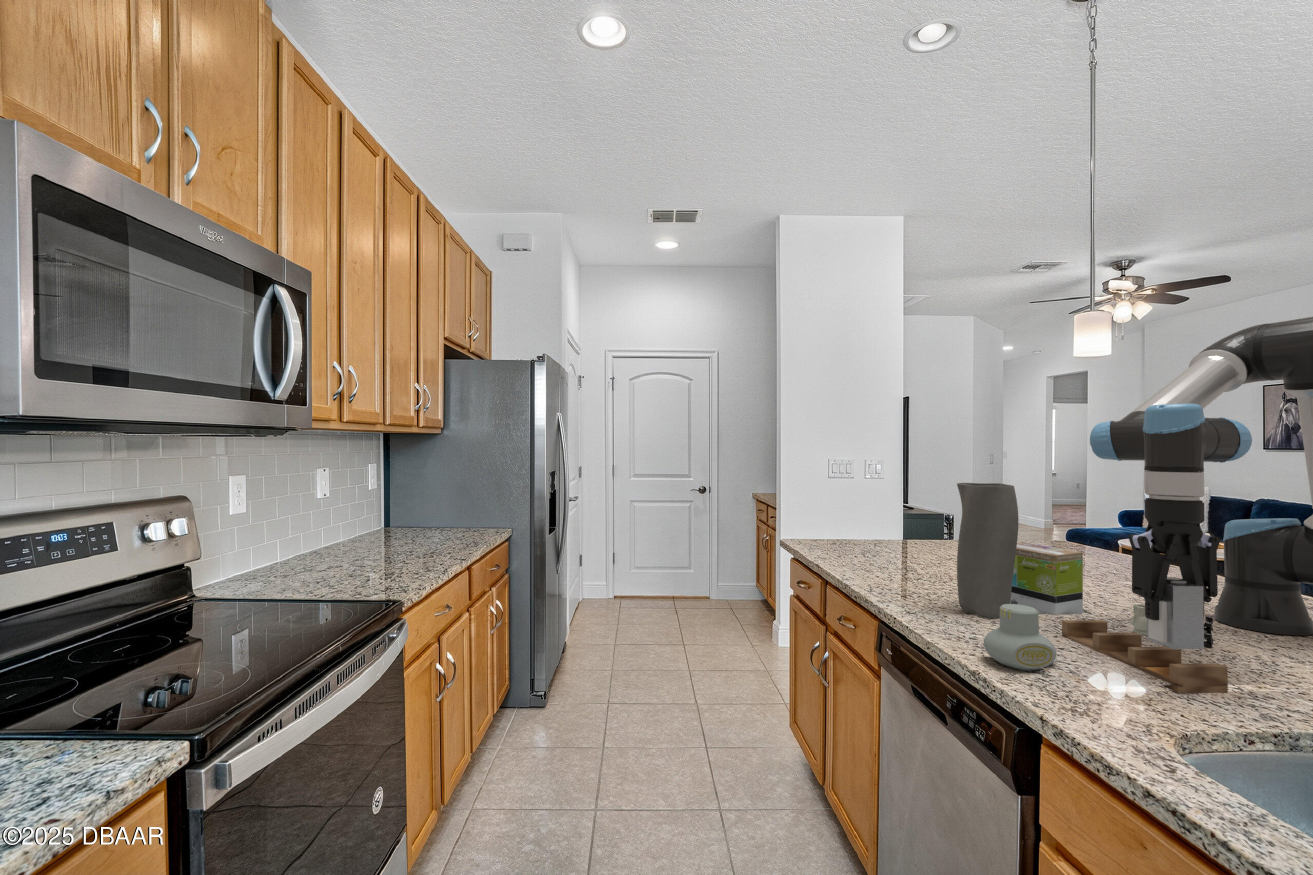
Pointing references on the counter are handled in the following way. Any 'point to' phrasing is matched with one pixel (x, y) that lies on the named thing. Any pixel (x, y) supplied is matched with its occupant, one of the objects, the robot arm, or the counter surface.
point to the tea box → (1048, 579)
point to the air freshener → (1019, 640)
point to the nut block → (1183, 615)
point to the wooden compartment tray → (1148, 657)
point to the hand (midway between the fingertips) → (1174, 639)
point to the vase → (986, 547)
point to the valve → (1141, 624)
